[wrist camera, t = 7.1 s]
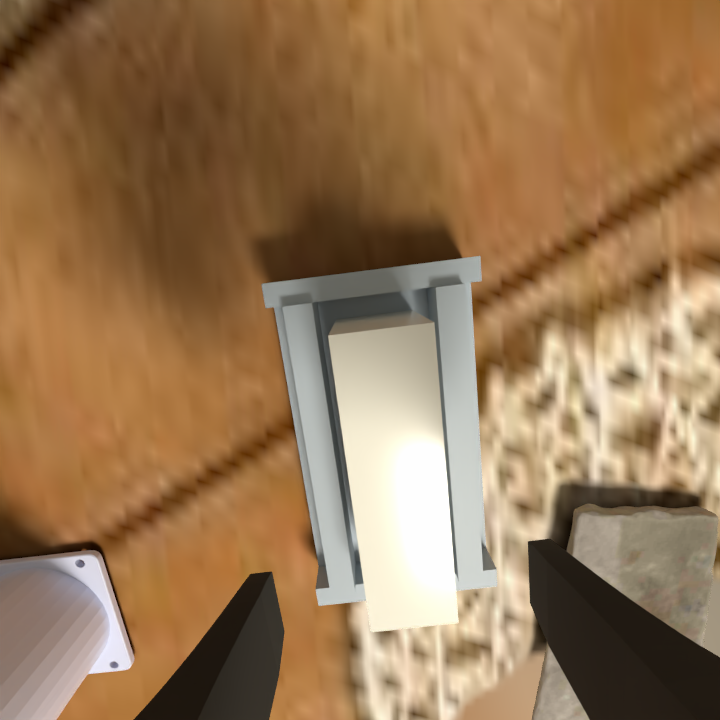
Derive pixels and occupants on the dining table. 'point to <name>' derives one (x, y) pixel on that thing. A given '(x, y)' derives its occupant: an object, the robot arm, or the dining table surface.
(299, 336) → the tray
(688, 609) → the stone
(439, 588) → the clay bar
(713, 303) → the dining table surface
